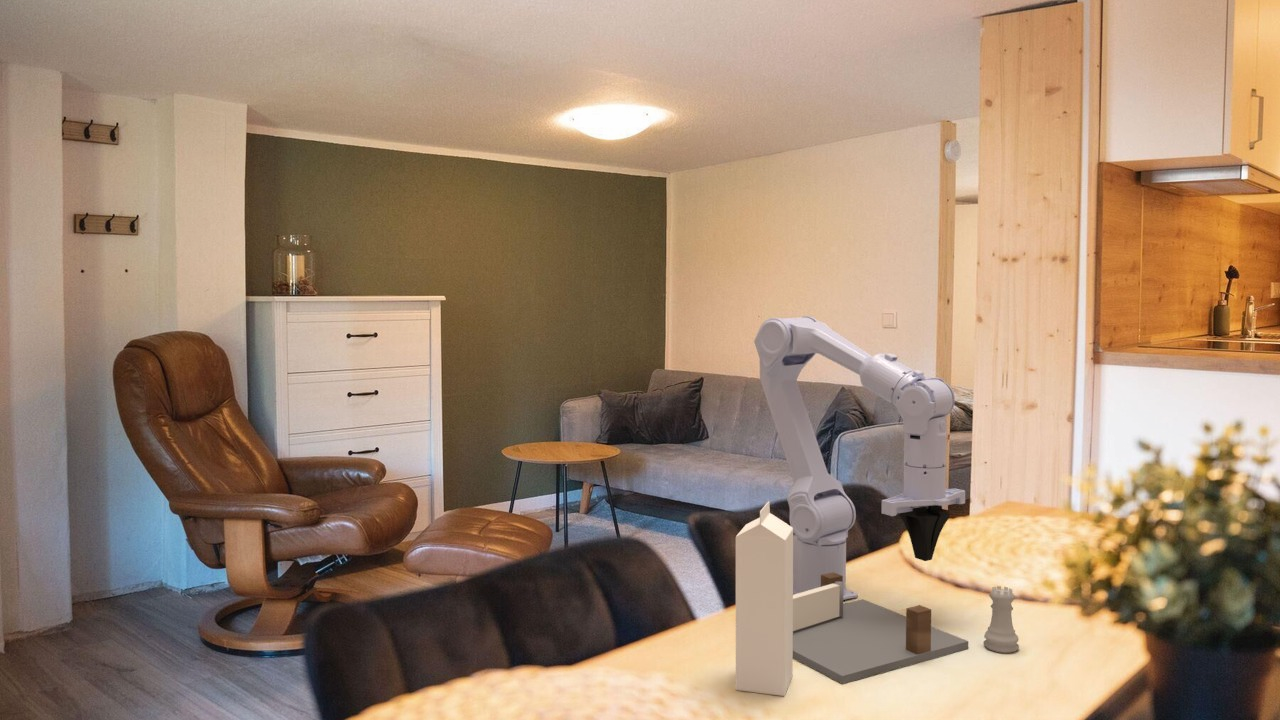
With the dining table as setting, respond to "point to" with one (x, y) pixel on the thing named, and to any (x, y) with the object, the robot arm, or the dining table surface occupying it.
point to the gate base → (864, 643)
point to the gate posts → (915, 621)
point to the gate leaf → (817, 605)
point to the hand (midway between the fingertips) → (923, 558)
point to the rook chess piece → (1001, 623)
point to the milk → (764, 605)
